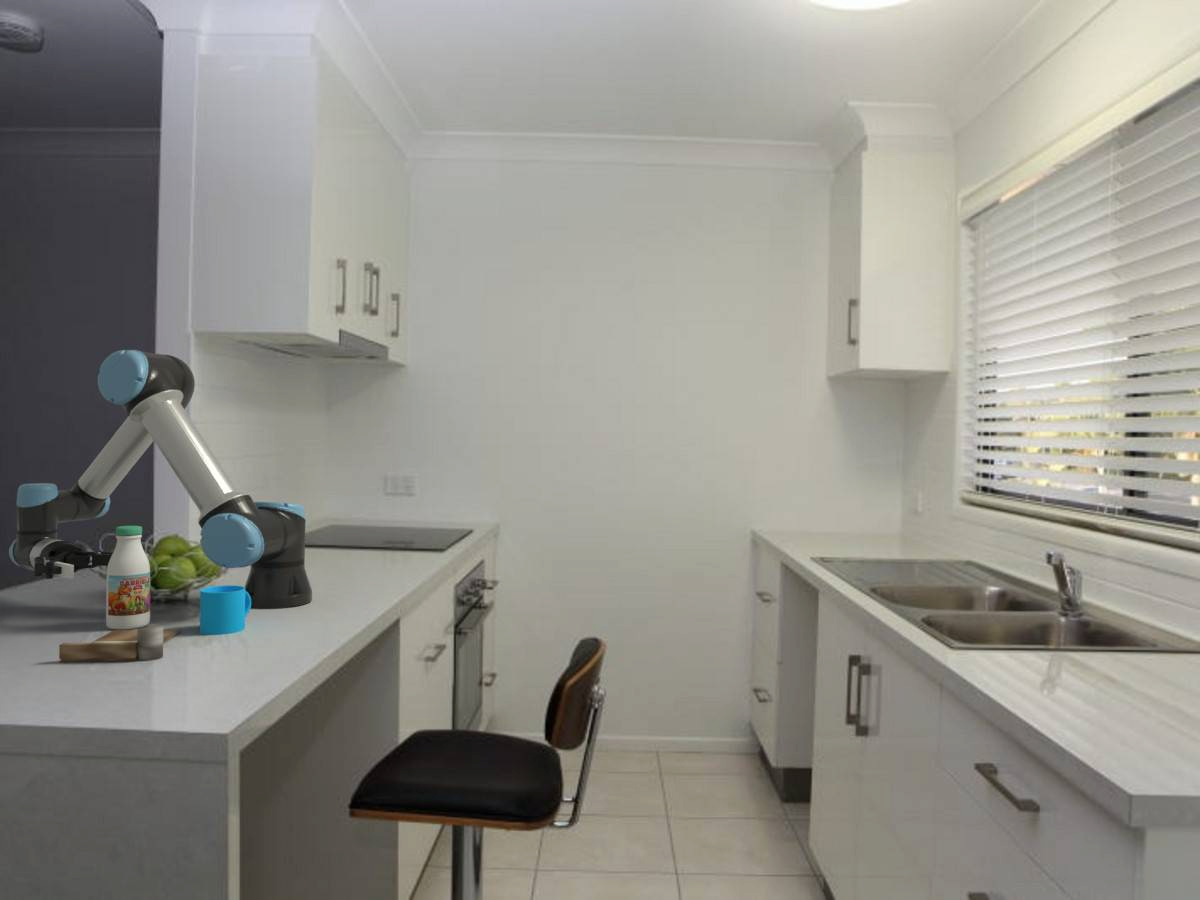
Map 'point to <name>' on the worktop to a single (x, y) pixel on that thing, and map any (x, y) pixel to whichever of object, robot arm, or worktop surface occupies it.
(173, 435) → the robot arm
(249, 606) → the mug
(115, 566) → the milk bottle
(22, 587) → the worktop surface
